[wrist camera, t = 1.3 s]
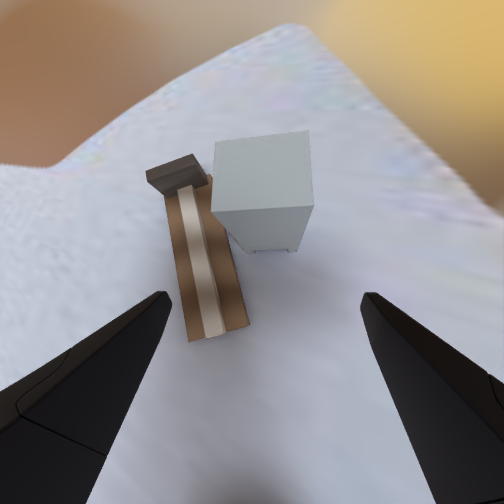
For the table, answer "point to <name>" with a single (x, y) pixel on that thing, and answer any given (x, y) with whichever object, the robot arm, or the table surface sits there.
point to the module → (264, 190)
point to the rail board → (199, 250)
